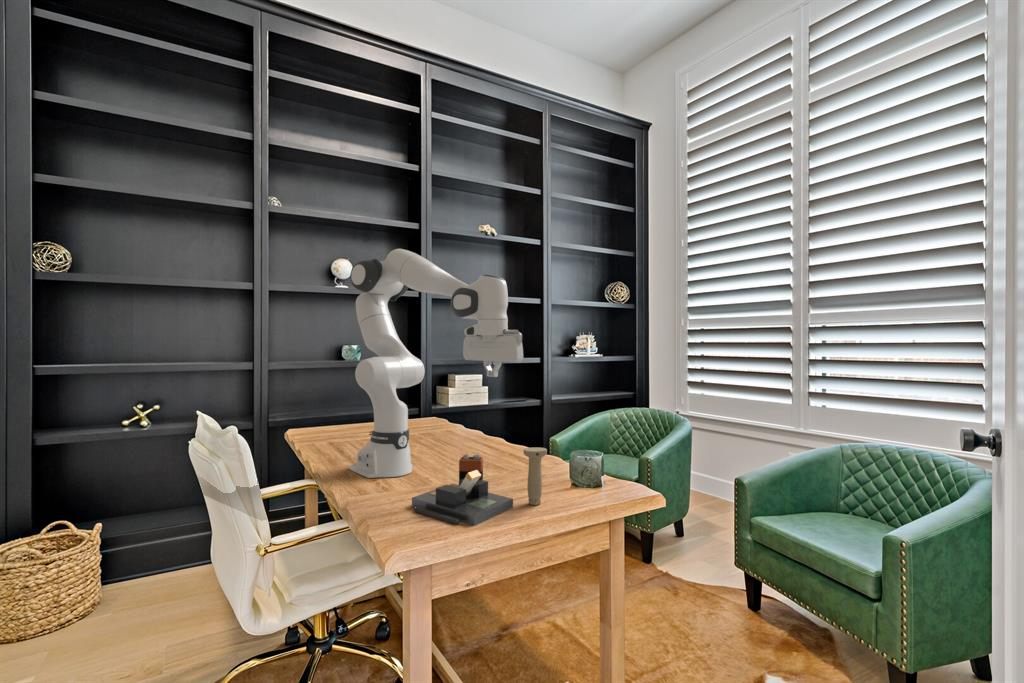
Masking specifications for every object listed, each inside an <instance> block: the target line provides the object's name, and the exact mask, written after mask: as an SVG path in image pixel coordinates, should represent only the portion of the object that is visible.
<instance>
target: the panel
mask: <svg viewBox="0 0 1024 683" xmlns="http://www.w3.org/2000/svg"><path fill="white" fill-rule="evenodd" d="M463 480H464V479H462V480H459V479H458V484H456V483H451V484H445V485H441V486H438V487H435V489H433V490H429V491H428V492H425V493H422V494H419V495H416V496H413V497H411V507H412V506H413V507H412V508H415V507H418V508H421V509H425V510H428V511H431V512H435V513H438V514H441V515H445V516H448V517H451V518H455V519H458V520H459V522H462V523H464V524H467V523H468V525H471V526H476V525H479V524H480V523H483V522H485V521H487V520H489V519H491V518H493V517H495V516H498V515H501V514H502V513H505V512H507V511H508V510H511V509H513V508H514V498H513V497H507V496H503V495H500V494H496V493H492V492H489V481H488V480H484V479H483V480H480V479H478V480H477V482H476V483H475V485H474V486H473V488H472V489H471V494H469V495H467V496H466V489H462V488H459V486H460V485H461V483H462V482H463ZM506 510H507V511H506ZM504 511H505V512H504Z"/></svg>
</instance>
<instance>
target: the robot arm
mask: <svg viewBox="0 0 1024 683" xmlns="http://www.w3.org/2000/svg"><path fill="white" fill-rule="evenodd" d="M349 275H350V276H349V278H350V282H351V286H353V287H354V288H355V289H356V290H358V291H360V292H362V293H361V294H359V295H358V296H357V298H356V300H355V311H356V317H357V322H358V325H359V328H360V329H359V330H360V331H361V336H362V339H363V341H364V345H365V346H366V348H367V349H368V350H370V351H372V352H373V353H375V354H376V355H377V356H373V357H369V358H365V359H362V360H361V361H359V362H358V363H357V366H356V368H355V372H354V373H355V374H354V376H355V380H356V383H357V384H358V385H359V387H360V388H361V389H363V390H364V391H365V392H366V394H367V395H368V396H369V398H370V401H371V405H372V408H373V430H371V431H368V433H370V434H368V436H370V440H369V442H367V443H366V444H365V445H364V446H363V447H362V448H361V449H359V450H358V452H357V454H356V463H354V464H351V465H349V467H348V468H349V469H348V470H350V471H352V472H354V473H356V474H358V475H360V476H363V477H365V478H367V479H373V478H395V477H401V476H406V475H408V474H411V473H412V472H413V467H414V465H413V463H412V459H411V458H412V457H411V448H410V444H409V440H410V429H409V409H408V405H407V404H406V403H405V402H404V401H402V400H400V399H399V397H398V394H397V389H405V388H410V387H413V386H416V385H418V384H420V383H421V382H423V379H424V377H425V373H426V371H425V370H426V369H425V366H424V365H425V364H424V363H423V361H422V360H421V359H420V358H418V357H417V356H415V355H413V354H412V353H411V351H409V350H408V349H407V347H406V346H405V345H404V343H403V342H402V341H401V339H400V337H399V335H398V333H397V331H396V328H395V325H394V322H393V320H392V315H391V312H390V310H389V307H388V304H389V302H391V303H392V302H396V301H397V299H398V298H400V297H402V296H403V295H405V293H406V292H407V290H408V289H411V290H413V291H416V292H420V293H425V294H433V295H441V296H447V297H450V308H451V311H452V313H453V314H454V315H455V316H456V317H457V318H459V319H460V318H461V319H464V320H465V319H466V320H477V323H475V324H473V325H471V326H468V327H466V328H464V332H463V333H464V335H465V338H464V339H463V346H462V356H463V358H464V360H465V361H479V362H480V361H483V366H484V368H485V371H486V376H487V377H490V378H498V376H499V370H500V368H501V366H502V363H503V362H504V363H505V362H506V363H521V362H522V361H523V360H524V347H523V334H522V333H521V332H520V331H519V330H518V329H508V328H509V326H508V322H509V318H508V315H507V314H508V313H507V311H508V306H509V294H508V292H509V291H508V285H507V282H506V279H505V278H503V277H501V276H497V275H493V274H492V275H491V274H483V275H482V274H481V275H480V276H479V277H478V279H477V280H475V281H474V282H472V283H470V284H469V283H467V282H465V281H463V280H461V279H459V278H457V277H455V276H453V275H452V274H450V273H448V272H447V271H445V270H443V269H442V268H440V267H439V266H438V265H437V264H434V263H433V262H432V261H430V260H428V259H427V258H425V257H423V256H422V255H419V254H418V253H416V252H413V251H410V250H408V249H403V248H395V249H393V250H391V251H390V252H389V253H388V254H387V256H386V257H385V259H384V260H382V261H379V259H377V258H372V259H366V260H361V261H358V262H356V263H354V264H353V266H352V268H351V270H350V274H349ZM492 364H493V368H492Z"/></svg>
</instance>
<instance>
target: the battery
mask: <svg viewBox="0 0 1024 683" xmlns="http://www.w3.org/2000/svg"><path fill="white" fill-rule="evenodd" d="M475 470H478V472H479V473H480V474H481V477H480V478H479V479H480V480H484V458H483V457H482V456H481V455H480V454H473V455H472V456H469V455H466V454H464V455H462V456H461V457H460V459H459V461H458V481H459V480H462V479H464V478H465V477H466V475H467V473H469V472H472V471H475Z"/></svg>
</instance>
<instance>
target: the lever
mask: <svg viewBox="0 0 1024 683" xmlns="http://www.w3.org/2000/svg"><path fill="white" fill-rule="evenodd" d="M480 477H481V474H480V473H479V472H478V470H475V471H472V472H469V473H467V475H466V477H465V478H464V480H463V482H462V483H461V485H460V486H459V488H462V489H466V496H467V495H469V494H471V489H472V488H473V486H474V485H475V483H476V482H477V480H478V479H479V478H480Z"/></svg>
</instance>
